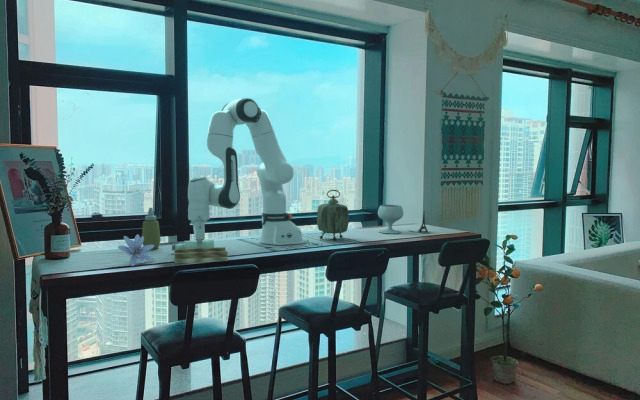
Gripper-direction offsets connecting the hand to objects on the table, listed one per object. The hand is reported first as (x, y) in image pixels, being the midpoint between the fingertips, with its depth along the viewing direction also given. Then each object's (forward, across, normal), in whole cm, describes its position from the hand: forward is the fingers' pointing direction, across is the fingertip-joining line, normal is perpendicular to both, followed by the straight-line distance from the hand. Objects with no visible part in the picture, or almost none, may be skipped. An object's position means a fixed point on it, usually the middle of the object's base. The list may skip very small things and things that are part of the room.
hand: (199, 247), depth 207 cm
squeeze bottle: (+2, +13, +20) cm, 24 cm away
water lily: (+2, -17, +24) cm, 29 cm away
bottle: (+2, 0, +3) cm, 3 cm away
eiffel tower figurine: (+3, +31, -123) cm, 127 cm away
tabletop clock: (+2, +18, -66) cm, 68 cm away
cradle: (+2, -15, 0) cm, 15 cm away
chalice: (+2, +33, -104) cm, 109 cm away
